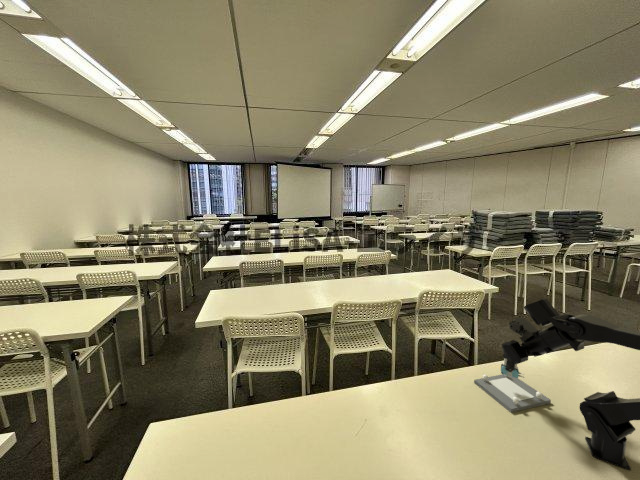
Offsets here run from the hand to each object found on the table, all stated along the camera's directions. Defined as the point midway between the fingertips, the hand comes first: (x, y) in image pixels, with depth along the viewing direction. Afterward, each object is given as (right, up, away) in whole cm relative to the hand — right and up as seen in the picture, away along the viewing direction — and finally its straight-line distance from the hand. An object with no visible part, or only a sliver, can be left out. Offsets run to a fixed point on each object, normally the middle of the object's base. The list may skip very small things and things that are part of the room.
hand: (508, 354), depth 87 cm
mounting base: (+1, -13, 0) cm, 13 cm away
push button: (0, -7, -1) cm, 7 cm away
